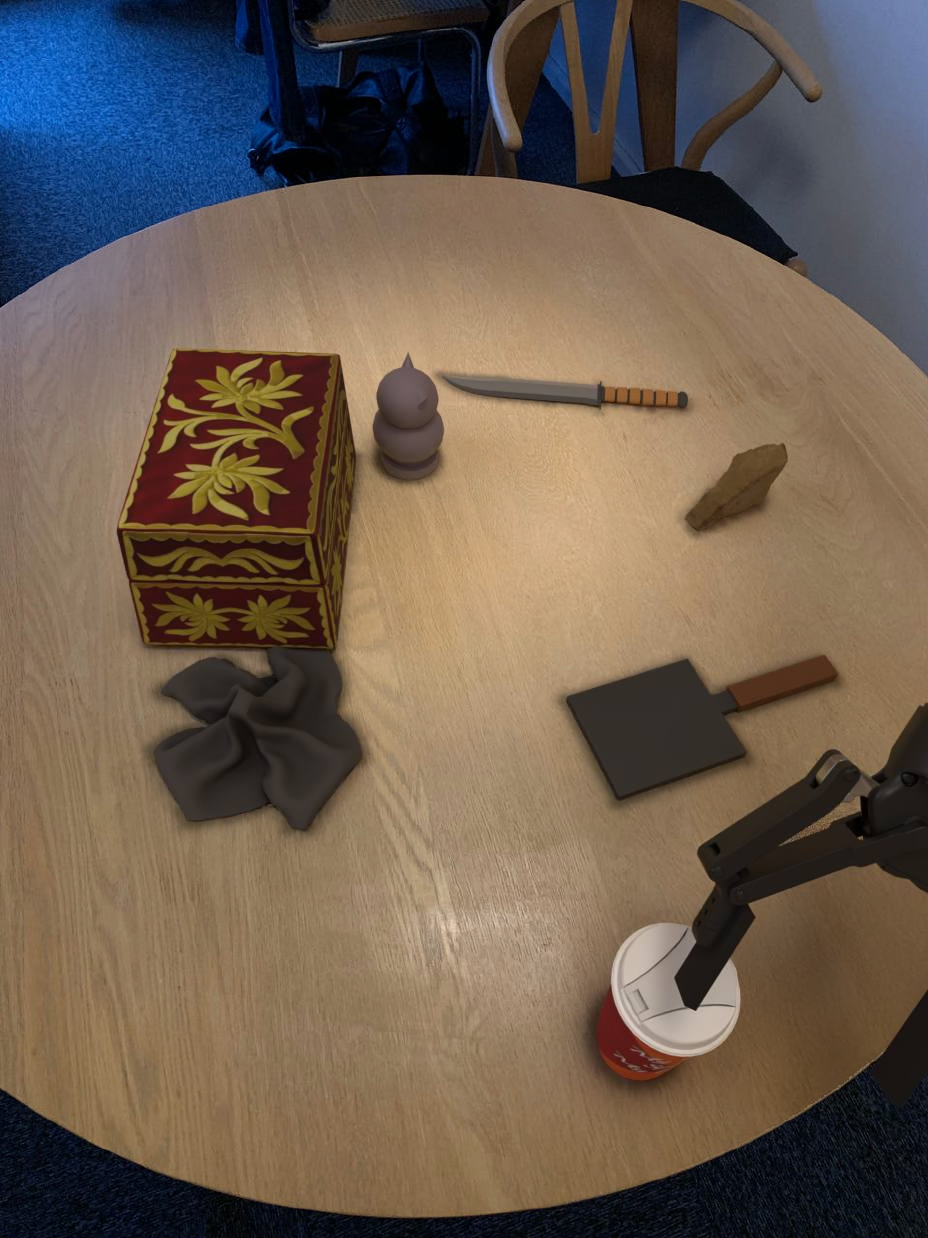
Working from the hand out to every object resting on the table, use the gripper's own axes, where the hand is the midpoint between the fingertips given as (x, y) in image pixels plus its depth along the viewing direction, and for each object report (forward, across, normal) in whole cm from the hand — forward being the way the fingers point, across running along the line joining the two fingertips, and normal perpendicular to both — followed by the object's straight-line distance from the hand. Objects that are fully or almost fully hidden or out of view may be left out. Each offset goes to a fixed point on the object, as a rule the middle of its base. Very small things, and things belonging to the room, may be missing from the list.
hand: (785, 1043), depth 54 cm
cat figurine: (-16, +37, -60) cm, 72 cm away
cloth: (+10, +37, -34) cm, 51 cm away
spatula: (-10, 0, -37) cm, 38 cm away
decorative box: (-2, +46, -50) cm, 68 cm away
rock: (-28, +3, -57) cm, 64 cm away
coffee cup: (+12, 0, -15) cm, 19 cm away
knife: (-31, +24, -70) cm, 80 cm away
